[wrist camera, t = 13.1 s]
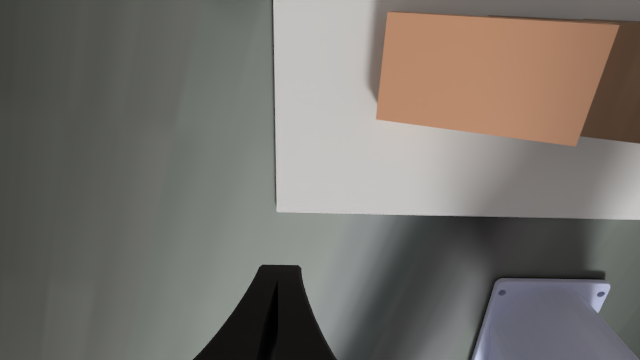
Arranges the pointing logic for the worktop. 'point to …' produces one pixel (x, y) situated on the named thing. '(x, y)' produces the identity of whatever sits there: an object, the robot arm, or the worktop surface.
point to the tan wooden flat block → (492, 74)
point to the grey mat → (423, 127)
